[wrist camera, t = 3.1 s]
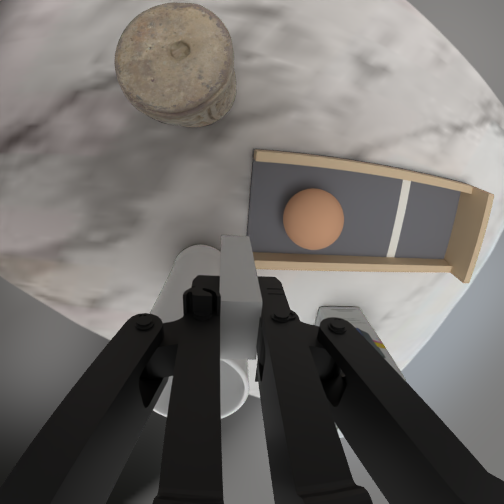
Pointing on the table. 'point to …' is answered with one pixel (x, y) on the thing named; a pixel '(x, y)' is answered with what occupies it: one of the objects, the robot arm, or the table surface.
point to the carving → (177, 65)
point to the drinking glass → (171, 309)
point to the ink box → (362, 326)
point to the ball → (313, 219)
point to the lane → (368, 216)
